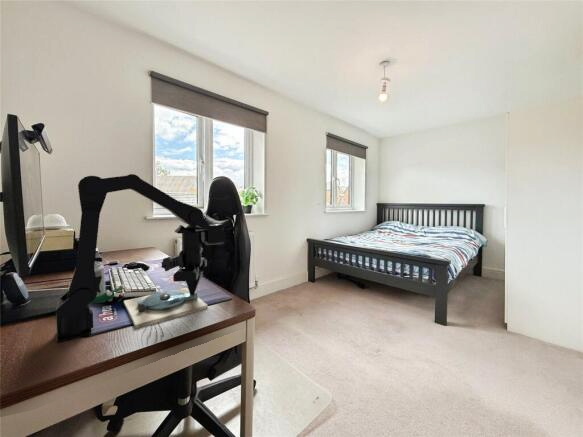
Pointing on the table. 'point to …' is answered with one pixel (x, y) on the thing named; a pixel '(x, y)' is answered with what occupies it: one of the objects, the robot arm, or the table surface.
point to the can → (102, 284)
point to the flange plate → (167, 299)
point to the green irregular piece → (107, 295)
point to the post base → (148, 317)
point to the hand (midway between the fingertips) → (192, 294)
